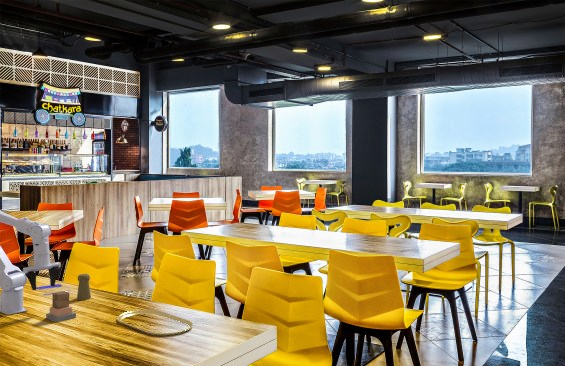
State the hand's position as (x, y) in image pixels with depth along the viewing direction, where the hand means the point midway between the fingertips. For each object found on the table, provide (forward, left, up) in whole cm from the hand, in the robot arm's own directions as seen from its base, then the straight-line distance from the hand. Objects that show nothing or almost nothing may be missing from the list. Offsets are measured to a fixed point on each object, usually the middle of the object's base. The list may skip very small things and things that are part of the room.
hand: (43, 287), depth 216 cm
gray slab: (+11, +2, -11) cm, 16 cm away
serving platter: (+44, +21, -11) cm, 50 cm away
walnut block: (+11, +1, -6) cm, 12 cm away
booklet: (-33, +21, -11) cm, 41 cm away
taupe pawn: (-10, +23, -11) cm, 28 cm away
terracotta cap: (+11, +1, -9) cm, 14 cm away
